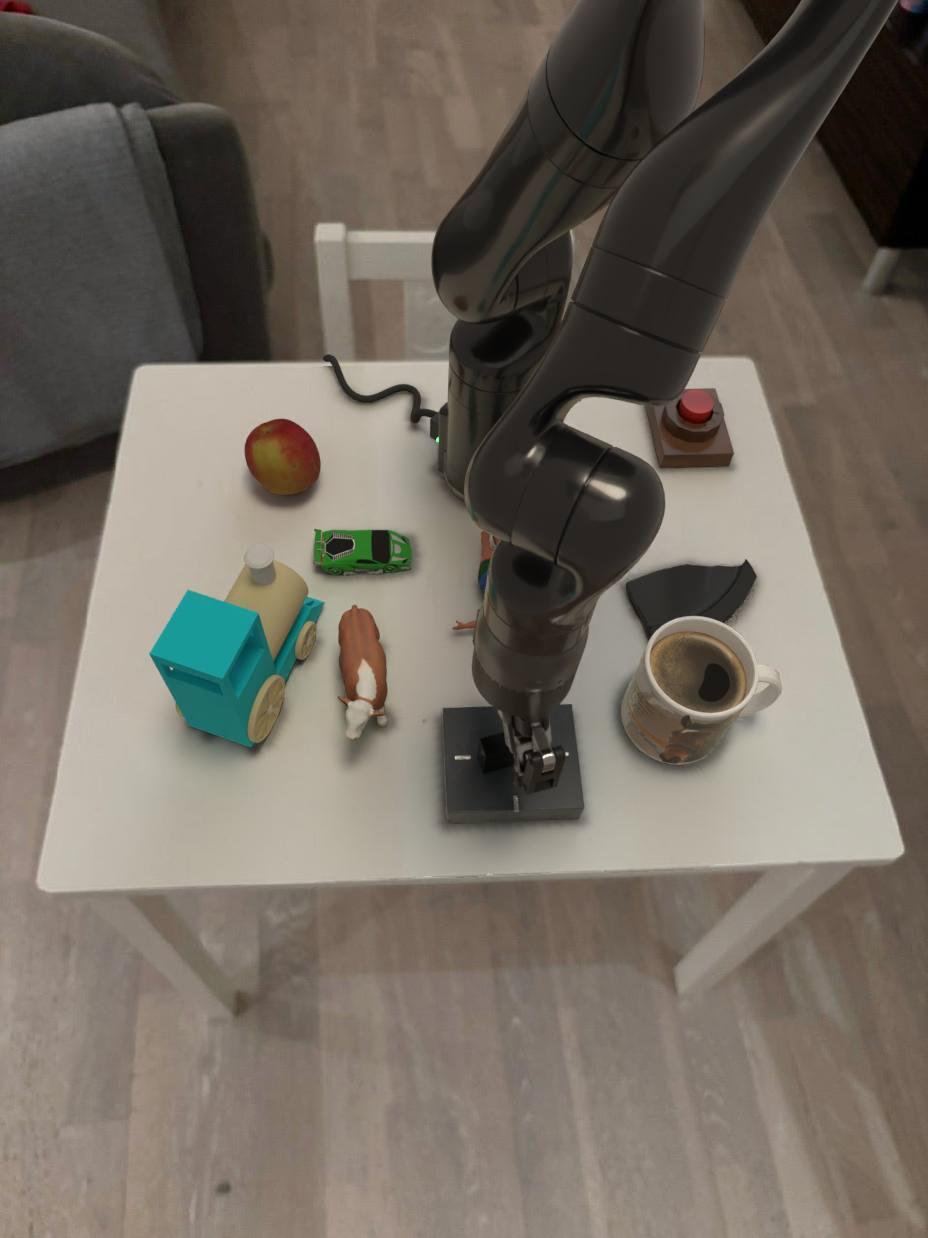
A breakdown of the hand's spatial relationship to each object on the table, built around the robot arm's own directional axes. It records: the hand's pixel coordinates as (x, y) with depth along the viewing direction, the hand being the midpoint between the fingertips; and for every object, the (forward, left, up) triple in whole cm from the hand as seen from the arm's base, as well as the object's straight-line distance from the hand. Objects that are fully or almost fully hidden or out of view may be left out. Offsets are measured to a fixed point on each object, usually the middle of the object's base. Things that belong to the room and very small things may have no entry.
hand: (507, 732), depth 77 cm
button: (-8, +46, -4) cm, 47 cm away
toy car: (-25, +9, -8) cm, 28 cm away
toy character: (-10, +14, -8) cm, 19 cm away
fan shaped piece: (+4, +26, -8) cm, 28 cm away
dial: (+1, 0, -5) cm, 5 cm away
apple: (-38, +11, -8) cm, 41 cm away
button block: (-8, +46, -8) cm, 48 cm away
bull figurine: (-14, -3, -8) cm, 17 cm away
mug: (+11, +15, -8) cm, 20 cm away
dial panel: (+1, 0, -8) cm, 8 cm away
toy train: (-24, -7, -8) cm, 26 cm away
